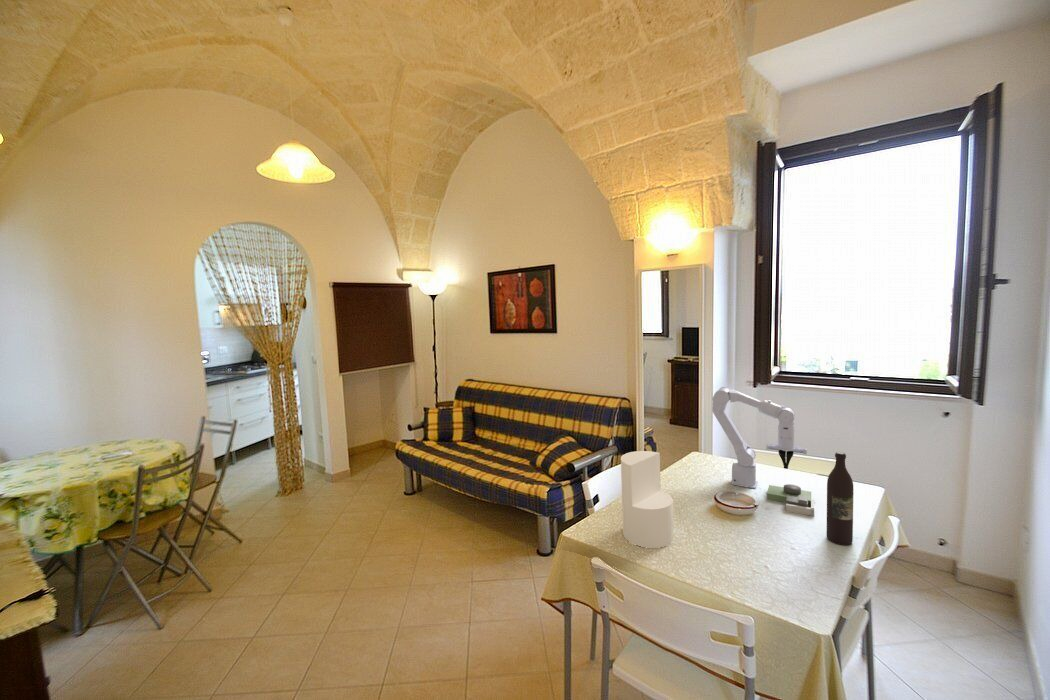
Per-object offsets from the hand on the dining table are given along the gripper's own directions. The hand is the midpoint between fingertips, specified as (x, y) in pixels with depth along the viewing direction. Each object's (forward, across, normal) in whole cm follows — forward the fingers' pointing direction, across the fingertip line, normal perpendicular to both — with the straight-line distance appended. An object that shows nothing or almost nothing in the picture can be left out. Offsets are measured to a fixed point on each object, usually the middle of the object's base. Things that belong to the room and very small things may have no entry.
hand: (786, 467), depth 182 cm
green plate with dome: (+10, +2, -12) cm, 16 cm away
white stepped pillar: (+10, -39, -63) cm, 75 cm away
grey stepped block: (+10, +4, -16) cm, 19 cm away
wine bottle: (+10, +17, -36) cm, 41 cm away
